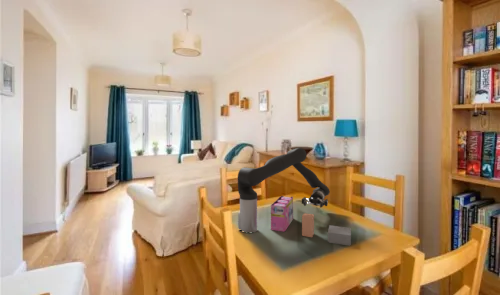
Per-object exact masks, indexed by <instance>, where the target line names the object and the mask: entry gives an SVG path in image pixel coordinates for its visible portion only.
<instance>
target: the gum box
mask: <svg viewBox="0 0 500 295" xmlns="http://www.w3.org/2000/svg"><path fill="white" fill-rule="evenodd" d="M293 219H294V196H290V197H289V196H284V195H281V196H279V197H278V198H277V199H276V200H275V201H273V203H272V204H270V230H271V231H276V232H284V233H285V231H286V230H287V229H288V227H289V226H290V224H291V222H292V221H293Z"/></svg>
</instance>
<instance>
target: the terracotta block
mask: <svg viewBox="0 0 500 295" xmlns="http://www.w3.org/2000/svg"><path fill="white" fill-rule="evenodd" d="M301 216H302V217H301V236H303V237H308V238H313V237H314V234H315V214H314V213H305V212H304V213H303V214H302V215H301Z"/></svg>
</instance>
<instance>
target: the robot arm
mask: <svg viewBox="0 0 500 295" xmlns="http://www.w3.org/2000/svg"><path fill="white" fill-rule="evenodd" d="M306 159H307V152H306V150H305V149H304V148H302V147H296V148H292V149H290V150H288V151H287V152H286V154H281V155H277V156H274V157H272V158H269V159H268V160H267V161H266V162H265V164H264V165H262V166H259V167H256V168H255V167H254V168H253V167H247V166H246V167H245V166H244V167H242V168H240V169H239V171H238V173H237V191H238V192H237V193H238V194H239V211H238V213H237V216H238V217H237V219H238V221H237V222H238V223H237V226H238V227H237V228H239V229H241V230H242V231H244V232H254V233H257V231H258V193H257V191H256V190H254V188H253V187H255V186H257V185H259V184H261V183H262V182H264V181H265V180H266V179H268V178H270V177H273V176H275V175H277V174H279V173H281V172H283V171H285V170H287V169H289V168H290V167H293V168H294V169H296V171H297V172H298V173H300V175H301V176H302V177H303V178H304V179H305V180H306V182H307V183H308V185H309V186H310V187H311V188H312V189H313V191H312V193H311V195H310V196H309V197H308V198H306V197H305V196H304V197H303V198H302V199H301V204H302V206H304V207H306V206H307V205H309V206H310V205H313V206H315V207H318V206H319V208H323V207H328V202H329V200H328V198H326V197H327V196H329V195H330V191H331V190H330V188H329V187H328V186H327V185H326V184H325V183H323V182H322V181H321V180H320V179H319V177H318V176H317V175H316V173H315V172H314V171H312V170H311V169H310V168H308V167H306V166H305V165H304V164H303V162H304V161H305V160H306ZM325 198H326V199H325Z"/></svg>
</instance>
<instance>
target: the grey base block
mask: <svg viewBox="0 0 500 295" xmlns="http://www.w3.org/2000/svg"><path fill="white" fill-rule="evenodd" d="M351 229H352V228H351V227H347V226H337V225H330V224H329V225H328V231H327V243H330V244H337V245H343V246H350V245H351V246H352V231H351Z"/></svg>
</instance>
